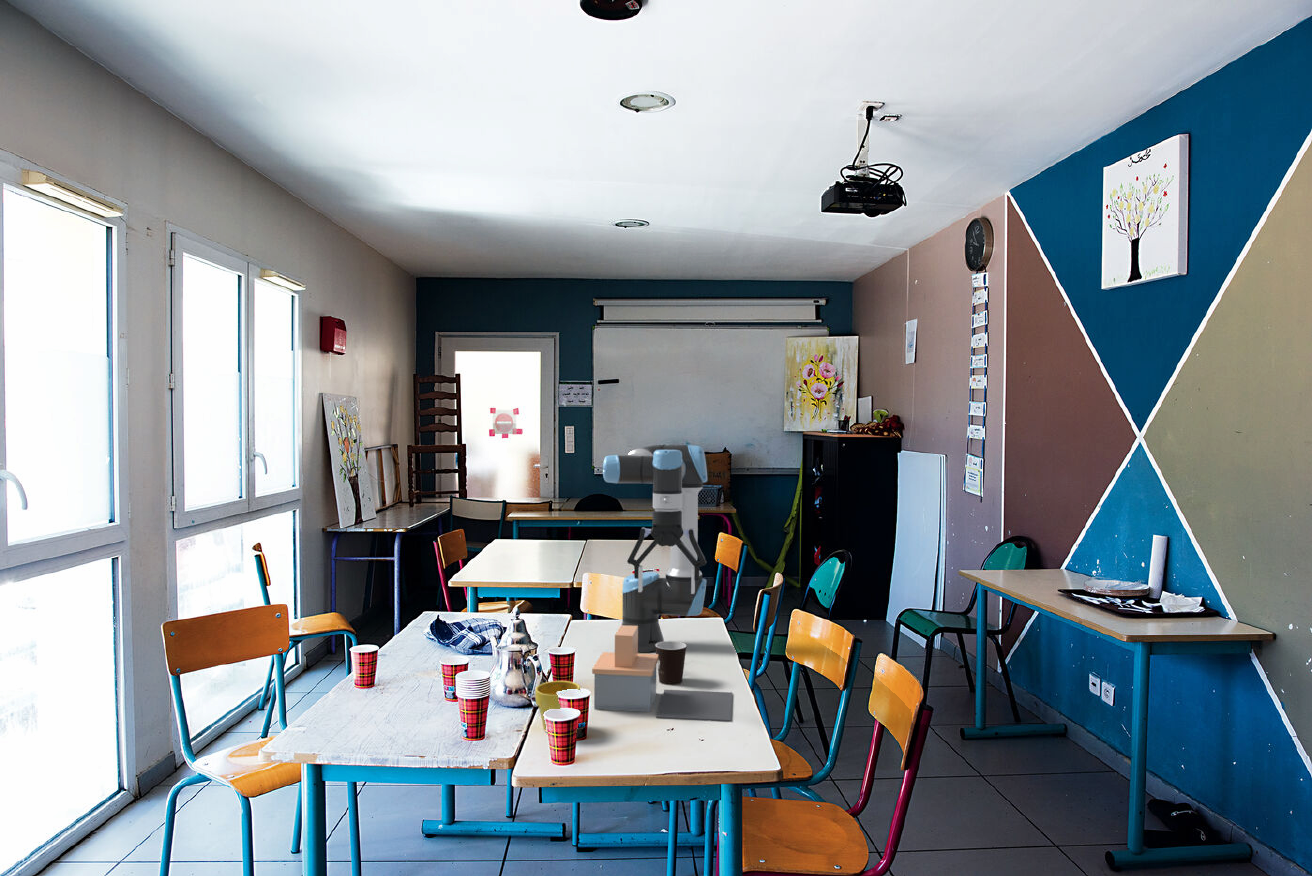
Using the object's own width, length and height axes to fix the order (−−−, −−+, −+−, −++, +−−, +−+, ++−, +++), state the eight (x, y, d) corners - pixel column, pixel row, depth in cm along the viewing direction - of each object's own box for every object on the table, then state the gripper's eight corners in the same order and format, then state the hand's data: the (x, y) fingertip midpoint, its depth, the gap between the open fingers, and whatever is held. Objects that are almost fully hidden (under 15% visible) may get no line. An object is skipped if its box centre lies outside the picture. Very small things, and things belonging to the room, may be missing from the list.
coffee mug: (683, 687, 218) (683, 650, 218) (652, 684, 219) (652, 648, 219) (690, 674, 229) (690, 639, 229) (660, 672, 231) (660, 637, 231)
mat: (664, 691, 214) (664, 689, 214) (732, 694, 213) (732, 692, 213) (656, 718, 195) (656, 716, 195) (730, 721, 193) (730, 719, 193)
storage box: (604, 690, 214) (604, 657, 214) (656, 693, 213) (656, 659, 213) (594, 709, 200) (594, 673, 200) (649, 711, 199) (650, 675, 199)
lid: (602, 662, 215) (603, 622, 215) (658, 664, 213) (658, 624, 213) (592, 679, 200) (592, 636, 200) (651, 682, 198) (652, 639, 198)
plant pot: (530, 736, 182) (530, 694, 182) (540, 720, 193) (540, 679, 192) (575, 738, 182) (576, 695, 181) (583, 721, 192) (583, 680, 192)
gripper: (617, 510, 204) (616, 593, 204) (715, 512, 201) (714, 596, 202) (621, 507, 211) (620, 587, 212) (716, 509, 209) (715, 590, 209)
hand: (666, 592), depth 207 cm, fingers open, 13 cm apart
